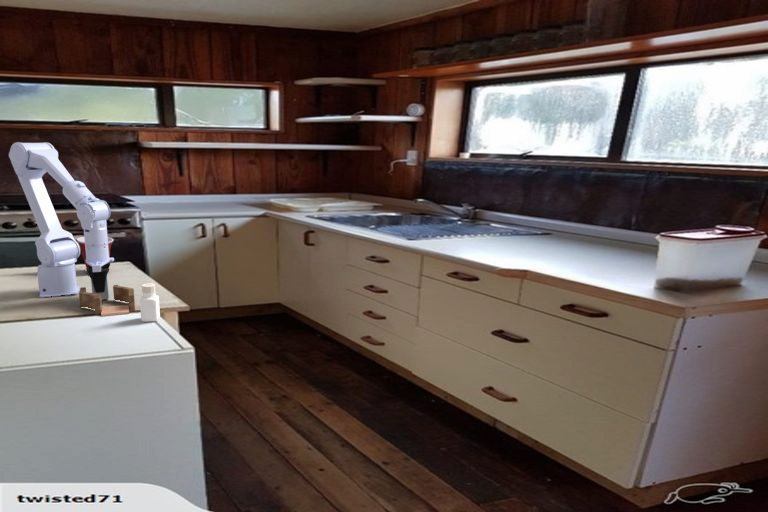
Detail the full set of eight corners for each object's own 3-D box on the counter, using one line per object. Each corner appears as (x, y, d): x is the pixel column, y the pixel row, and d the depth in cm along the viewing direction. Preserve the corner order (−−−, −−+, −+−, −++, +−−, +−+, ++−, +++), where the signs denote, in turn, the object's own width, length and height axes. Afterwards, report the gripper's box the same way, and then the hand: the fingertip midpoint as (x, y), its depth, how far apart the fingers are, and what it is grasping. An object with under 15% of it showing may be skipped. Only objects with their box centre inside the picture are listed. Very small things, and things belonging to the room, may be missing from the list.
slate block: (92, 300, 146) (90, 273, 144) (93, 296, 149) (91, 270, 148) (108, 299, 148) (106, 272, 146) (109, 295, 151) (107, 269, 149)
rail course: (78, 316, 135) (76, 300, 134) (82, 302, 145) (80, 287, 144) (134, 310, 140) (133, 295, 139) (134, 298, 150) (133, 283, 149)
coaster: (101, 316, 135) (101, 314, 135) (102, 309, 140) (102, 307, 140) (129, 313, 138) (128, 311, 138) (129, 306, 143) (129, 304, 143)
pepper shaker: (157, 322, 133) (155, 287, 131) (140, 322, 132) (138, 287, 130) (160, 316, 137) (158, 282, 135) (144, 317, 136) (142, 282, 134)
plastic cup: (109, 277, 170) (106, 241, 167) (74, 277, 169) (70, 241, 166) (121, 268, 181) (118, 235, 178) (88, 268, 179) (85, 234, 176)
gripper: (111, 248, 140) (115, 296, 143) (113, 238, 153) (116, 282, 156) (81, 250, 137) (86, 298, 140) (86, 239, 150) (90, 283, 153)
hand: (100, 290), depth 148 cm, fingers closed on slate block, 4 cm apart
